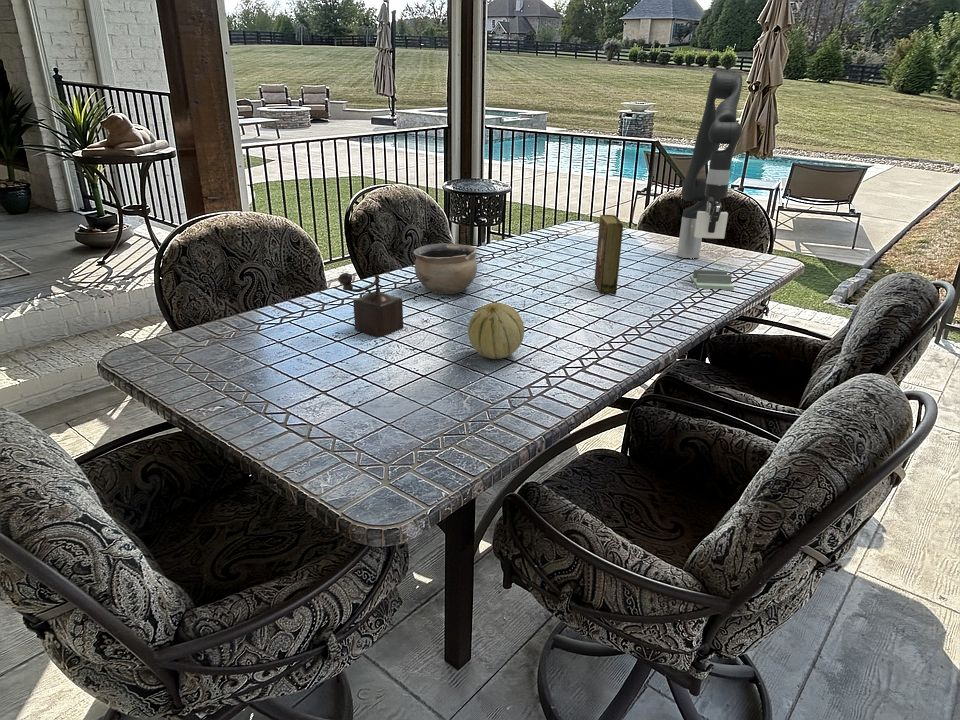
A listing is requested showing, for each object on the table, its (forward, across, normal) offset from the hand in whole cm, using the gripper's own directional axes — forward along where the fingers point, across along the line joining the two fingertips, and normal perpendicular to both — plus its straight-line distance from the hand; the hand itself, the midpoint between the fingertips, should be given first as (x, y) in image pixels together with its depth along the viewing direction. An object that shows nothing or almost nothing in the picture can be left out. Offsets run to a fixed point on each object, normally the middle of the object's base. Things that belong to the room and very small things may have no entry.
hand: (710, 231), depth 231 cm
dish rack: (+19, +1, +3) cm, 20 cm away
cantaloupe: (+20, +83, -69) cm, 110 cm away
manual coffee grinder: (+20, +70, -107) cm, 129 cm away
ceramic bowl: (+20, +27, -93) cm, 98 cm away
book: (+20, +14, -37) cm, 44 cm away
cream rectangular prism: (+2, 0, 0) cm, 2 cm away
